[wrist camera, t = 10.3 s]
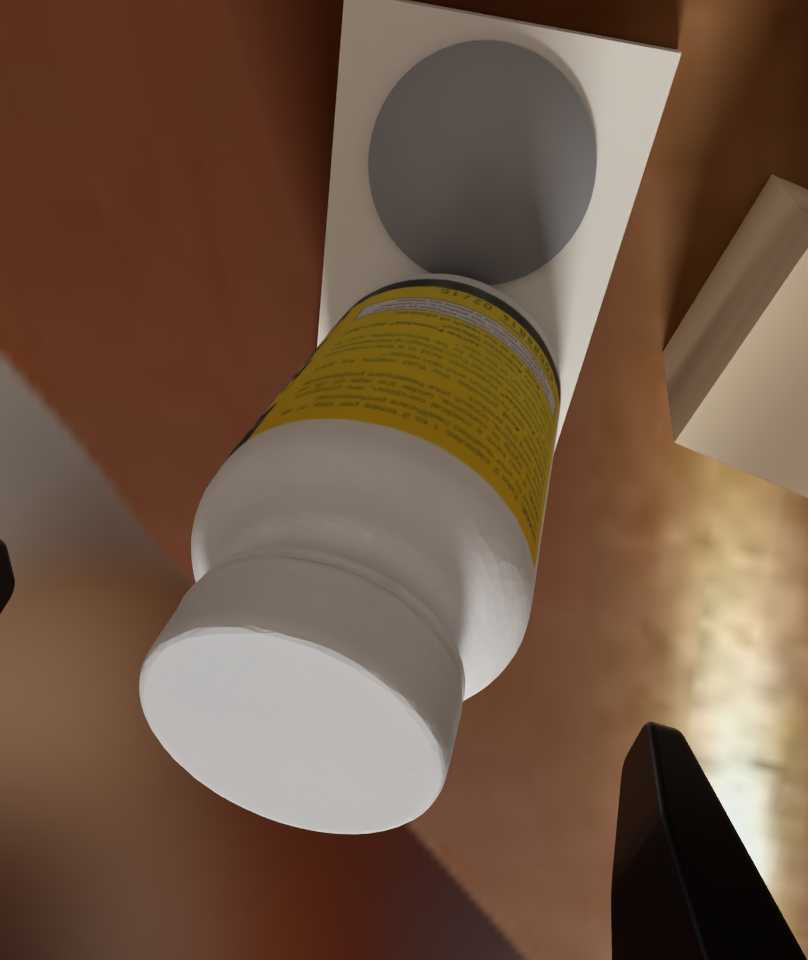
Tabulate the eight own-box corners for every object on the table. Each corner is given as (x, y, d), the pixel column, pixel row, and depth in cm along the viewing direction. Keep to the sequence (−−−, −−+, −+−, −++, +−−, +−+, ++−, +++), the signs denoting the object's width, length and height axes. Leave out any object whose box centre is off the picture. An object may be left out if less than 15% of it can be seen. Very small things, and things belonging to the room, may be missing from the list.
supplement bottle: (329, 249, 16) (38, 526, 8) (585, 285, 15) (555, 637, 7) (328, 460, 19) (121, 810, 11) (539, 499, 18) (482, 909, 10)
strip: (677, 49, 13) (682, 54, 12) (504, 598, 21) (500, 622, 20) (357, -10, 14) (341, -9, 13) (309, 545, 22) (298, 567, 21)
